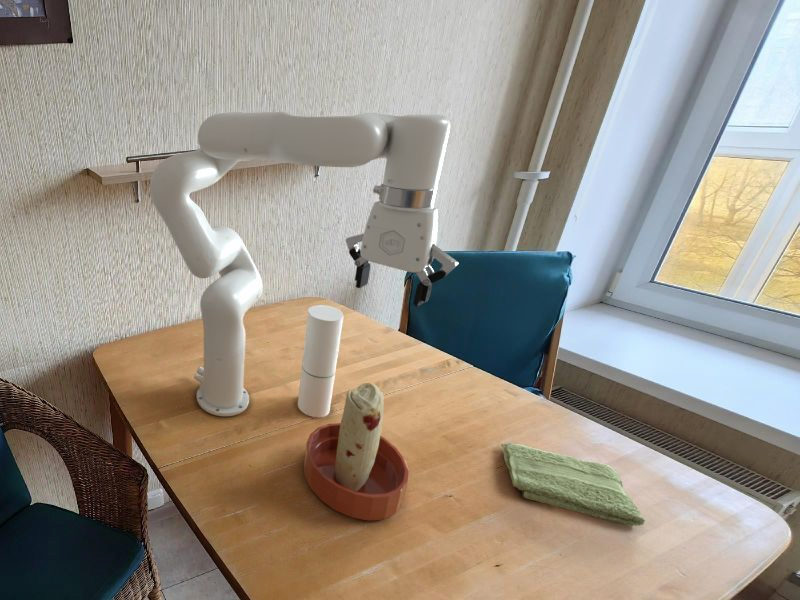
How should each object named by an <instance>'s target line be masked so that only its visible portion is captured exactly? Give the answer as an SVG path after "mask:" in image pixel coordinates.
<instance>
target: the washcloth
mask: <svg viewBox="0 0 800 600" xmlns="http://www.w3.org/2000/svg"><path fill="white" fill-rule="evenodd" d="M501 447H502V450H503V458H504V463H505V465H506V467H507V469H508V474H509V476H510V479H511V483H512V486H513V487H514V488H517V489H518V491H521V494H522V497H523V498H525V499H528V500H530V501H536V502H538V503H539V502H540V503H543V504H547V505H549V506H552V507H558V508H562V509H566V510H569V511H572V512H578V513H579V514H584V515H588V516H593V517H596V518H599V519H604V520H608V521H611V522H615V523H618V524H624V525H627V526H630V527H635V526H637V527H638V526H643V525H644V524H645V522H646V519H645V518H644V516H643V514H642V513H641V512H640V510H639V509H638V507H637V506H636V504H635V503H634V501H633V499H632V498H631V497H630V495H627V493H626V491H625V490H624V488H623V487H624V486H623V481H622V479H621V476H620V475H619V473H618V472H617V471H616V470H615V469H614V467H612V466H611V465H608V464H605V463H601V462H597V461H590V460H589V461H588V460H583V459H580V458H576V457H574V456H570V455H564V454H561V453H556V452H551V451H546V450H542V449H539V448H535V447H531V446H528V445H525V444H521V443H511V442H510V443H509V442H508V443H507V442H506V443H505V442H504V443H501Z"/></svg>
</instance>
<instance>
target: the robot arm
mask: <svg viewBox="0 0 800 600" xmlns="http://www.w3.org/2000/svg"><path fill="white" fill-rule="evenodd" d="M450 130H451V121H450V119H449V118H448V117H447V116H444V115H441V114H440V115H439V114H406V115H394V114H393V115H392V114H385V113H377V112H366V113H358V114H354V115H344V116H338V115H337V116H298V115H292V114H290V113H288V112H284V111H267V112H266V111H265V112H264V111H263V112H241V111H232V112H220V113H215V114H213V115H210V116H209V117H207V118H205V120H203V121H202V122H201V124H200V126H199V129H198V132H197V141H198V146H199V148H197V149H196V150H192V151H185V152H182V153H178V154H174V155H171V156H169V157H167V158H165V159H163V160H162V161H160V163H159V164H157V166H156V167H155V169H154V170H153V173H152V175H151V178H150V182H149V183H150V184H149V192H150V197H151V201H152V203H153V206H154V208H155V210H156V212H157V213H158V215H159V216H160V217H161V219H162V221H163V222H164V224H165V226H166V227H167V229H168V231H169V233H170V235H171V238H172V240H173V241H174V243H175V245H176V247H177V250H178V252H179V253H180V255H181V257H182V260H183V261H184V263H185V266H186V267H187V269H188V271H189V272H190V273H191V274H192V275H193V276H194V277H195V278H198V279H208V278H210V277H213V276H214V275H216V274H218V273H219V277H218V278H217V279H215V280H214V281H213V282H211V284H210V285H208V286H207V287H206V288H205V290H204V291H203V292H202V295H201V297H200V301H199V307H200V313H201V318H202V326H203V367H202V366H199V367H198V368H197V370H196V373H195V374H194V376H193V379H194V380H196V381H198V382H199V387H198V389H197V390H196V402H197V404H198V406H199V407H200V408H201V409H202V410H204V411H205V412H207V413H209V414H211V415H214V416H217V417H233V416H236V415H239V414H241V413H243V412H244V411H245V410H246V409H247V408H248V407H249V403H250V396H249V393H248V391H247V389H245V387H244V379H245V362H246V361H245V360H246V341H247V340H246V328H245V325H244V316H245V314H246V312H248V311H249V309H251V307H252V306H254V305H255V304H256V303H257V302H258V301H259V299H260V298H261V297H262V294H263V291H264V285H263V280H262V277H261V274H260V272H259V271H258V268H257V267H256V264H255V262H254V260H253V258H252V255H250V253H249V250H248V249H247V246H246V245H245V243H244V241H243V238H241V236H240V235H239V234H238V233H237V232H236V231H235V230H234V229H232V228H230V227H228V226H226V225H216V226H213V227H211V225H210V223H209V221H208V219H207V217H206V215H205V213H204V212H203V210H202V208H201V207H200V206H199V205H198V204H197V203H196V202H195V201H194V200H193V199H192V198H191V197H190V195H191V194H192V193H194V192H198V191H200V190H204V189H206V188H208V187H211V186H213V185H214V184H215V183H217V182H218V181H219V180H221V179H222V178H223V177H224V176H225V175H226V174H227V173H229V171H231V170H232V169H233V167H234V166H235V165H237V164H238V163H239V162H240V161H241V160H243V161H244V160H245V161H264V162H267V161H268V162H277V163H281V164H282V163H283V164H292V165H297V166H298V165H299V166H309V167H326V168H327V167H329V168H356V167H361V166H365V165H366V164H368V163H370V162H371V161H374V160H377V159H379V160H380V159H386V162H385V168H384V174H383V181H382V183H381V184H380V185H377V184H376V185H374V186H373V189H372V193H373V194H375V195H378V201H375V202H374V203H373V205H372V207H371V209H370V212H369V214H368V218H367V222H366V223H365V224H366V225H365V228H364V231H363V233H359V234H355V235H351V236H348V237H346V238H345V243H346V246H347V249H348V254H349V255H350V257H351V259H352V260H353V262H354V265H355V266H356V270H355V277H354V281H355V288H357V289H361V288H363V287H365V286H367V285H368V284H369V280H370V279H369V278H370V272H371V263H374V264H377V265H381V266H384V267H388V268H392V269H396V270H400V271H404V272H408V273H416V275H417V277H418V279H419V280H420V282H419V283H417V285H416V289H415V295H414V298H413V303H412V305H413V306H414V307H417V308H419V307H420V306H421V305H423V304H424V303H427V302H429V299H430V296H431V293H432V292H431V291H432V287H433V284H434V283H436V282H438V281H440V280H442V279H444V278H445V277H447V276H448V275H449V274H450V273H451V272H452V271H453V270H454V269H455V268H456V267H457V266H458V265H459V262H458V261H457V259H456V258H455V259H454V258H453V257H452V256H450V255H449V254H448V253H446V251H444V250H442V249H441V248H440V247H439V246H437V239H438V228H439V227H438V226H439V225H438V224H439V213H438V208H437V207H436V206H434V205H435V200H436V196H437V190H438V186H439V182H440V178H441V172H442V167H443V164H444V159H445V153H446V149H447V144H448V139H449V136H450V135H449V134H450ZM358 243H361V244H360V247H359V245H358ZM434 259H435V260H436V261H437V262H439V263H440V264H441V268H440V269H438V270H436V271H434V269H433V268H432V266H431V265H432V264H433V262H434ZM369 262H370V263H369Z"/></svg>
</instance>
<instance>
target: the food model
mask: <svg viewBox="0 0 800 600" xmlns="http://www.w3.org/2000/svg"><path fill="white" fill-rule="evenodd" d="M384 403H385V400H384V394H383V392H382V391H381V390H380V388H379V387H378V386H377V385H376V384H375V383H372V382H364V383H362V384H360V385H359V386H357V387H356V388H355V389H354V390H353V391H352V390H351V389H349V390H348V391H347V393H346V396H345V402H344V407H343V412H342V418H341V419H340V423H341V424H340V430H339V439H338V446H337V454H336V461H335V476H336V479H337V481H338V483H339V484H340V485H341V486H343V487H345V488H348V489H350V490H353V491H355V492H356V491H358V490H359V489H360V488H361V487H362V486H363V485H364V484H365V482H366V481H367V479H368V477H369V474H370V471H371V469H372V467H373V465H374V462H375V458H376V454H377V450H378V446H379V440H380V436H381V434H382V433H381V432H382V429H383V428H382V427H383V421H384V420H383V417H384V407H385V404H384Z"/></svg>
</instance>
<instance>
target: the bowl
mask: <svg viewBox="0 0 800 600" xmlns="http://www.w3.org/2000/svg"><path fill="white" fill-rule="evenodd" d="M340 424H341V422H337V423H326V424H324V425H321V426H319V427H317V428H315V429H314V430H313V431H312V432H311V433H310V434H309V436H308V438H307V441H306V442H305V444H306V445H305V451H304V459H303V471H304V472H303V473H304V477H305V480H306V482H307V484H308V486H309V488H310V489H311V490H312V492H313V493H314V495H316V496H317V497H318V499H319V500H320V501H322V502H323V503H324V504H325V505H327V506H328V507H330V508H331V509H333V510H334V511H336V512H338V513H341V514H343V515H345V516H347V517H350V518H354V519H359V520H363V521H381V520H386V519H387V518H389V517H391V516H393V515H396V513H397V512H398V511H399V510H400V509H401V507H402V506H403V503H404V499H405V495H406V491H407V487H408V482H409V474H410V471H409V468H408V467H409V466H408V465H407V462H406V460H405V457H404V456H403V455H402V453H401V452H400V451H399V450H398V448H397V447H396V446H395V445H393V444H392V443H391V442H390V441H388V440H387V438H385V437H384V436H382V435H380V440H379V446H378V450H377V454H376V458H375V462H374V465H373V467H372V469H371V471H370V474H369V477H368V479H367V481H366V482H365V484H364V485H363V486H362V487H361V488H360V489H359V490H358V491H356V492H355V491H353V490H350V489H348V488H345V487H343V486H341V485H340V484H339V483H338V481H337V479H336V476H335V461H336V454H337V446H338V439H339V430H340Z"/></svg>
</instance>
